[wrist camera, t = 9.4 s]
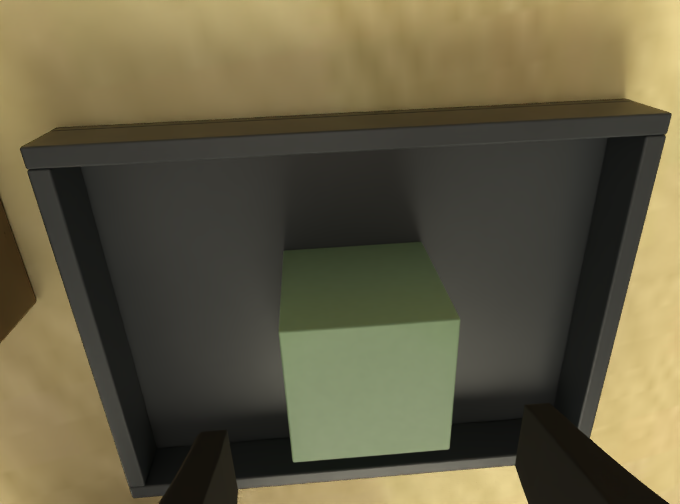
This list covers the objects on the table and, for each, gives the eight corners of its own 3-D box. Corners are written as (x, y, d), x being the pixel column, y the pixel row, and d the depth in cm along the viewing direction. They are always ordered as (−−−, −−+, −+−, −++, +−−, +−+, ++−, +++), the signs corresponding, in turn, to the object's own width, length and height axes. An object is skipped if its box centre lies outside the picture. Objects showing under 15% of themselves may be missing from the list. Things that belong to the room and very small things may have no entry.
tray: (559, 418, 22) (585, 460, 20) (147, 451, 21) (132, 499, 19) (626, 98, 16) (673, 112, 14) (55, 127, 15) (18, 147, 13)
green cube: (417, 352, 19) (450, 449, 15) (293, 361, 19) (292, 463, 15) (421, 240, 17) (461, 318, 13) (283, 249, 17) (277, 331, 13)
